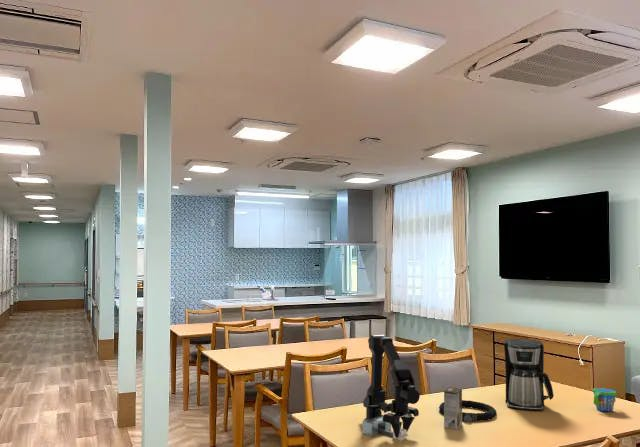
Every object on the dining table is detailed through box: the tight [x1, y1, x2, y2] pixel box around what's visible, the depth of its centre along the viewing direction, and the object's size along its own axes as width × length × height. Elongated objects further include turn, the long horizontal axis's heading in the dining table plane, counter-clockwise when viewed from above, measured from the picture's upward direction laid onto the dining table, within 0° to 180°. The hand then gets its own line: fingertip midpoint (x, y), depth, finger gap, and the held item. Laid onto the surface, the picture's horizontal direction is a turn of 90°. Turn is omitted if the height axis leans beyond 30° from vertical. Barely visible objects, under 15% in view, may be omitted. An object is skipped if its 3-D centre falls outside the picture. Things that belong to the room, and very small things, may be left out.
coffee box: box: [443, 386, 463, 430], centre depth 244 cm, size 9×6×16 cm
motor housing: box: [361, 414, 392, 437], centre depth 233 cm, size 5×14×5 cm, turn 137°
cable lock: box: [438, 399, 498, 423], centre depth 264 cm, size 28×4×30 cm
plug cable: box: [362, 419, 408, 441], centre depth 230 cm, size 22×4×4 cm, turn 47°
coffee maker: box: [503, 338, 554, 411], centre depth 288 cm, size 23×32×34 cm
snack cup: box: [592, 387, 617, 413], centre depth 276 cm, size 16×10×10 cm
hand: (400, 435), depth 225 cm, fingers open, 6 cm apart
